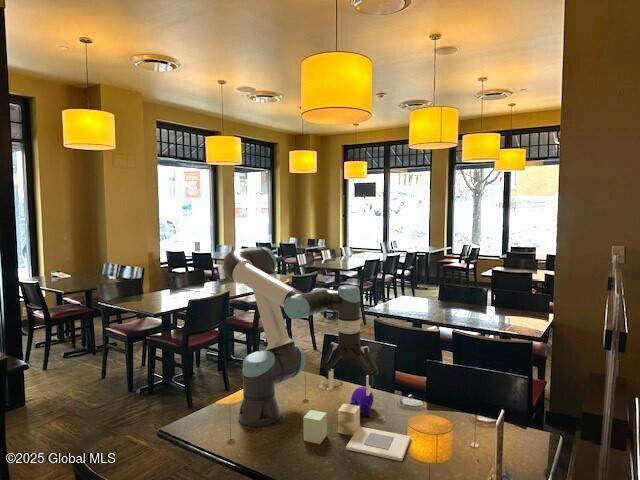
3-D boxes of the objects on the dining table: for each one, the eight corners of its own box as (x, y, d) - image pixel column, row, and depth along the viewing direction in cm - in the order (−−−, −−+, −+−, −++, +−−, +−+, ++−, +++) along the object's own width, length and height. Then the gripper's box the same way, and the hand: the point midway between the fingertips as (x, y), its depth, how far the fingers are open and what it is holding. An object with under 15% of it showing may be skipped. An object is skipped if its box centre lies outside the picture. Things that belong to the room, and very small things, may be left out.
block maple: (338, 432, 152) (337, 410, 152) (343, 425, 158) (343, 403, 157) (354, 436, 150) (354, 413, 149) (359, 428, 155) (359, 406, 155)
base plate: (346, 449, 142) (346, 445, 141) (358, 429, 154) (358, 425, 154) (401, 461, 135) (401, 457, 135) (410, 439, 148) (410, 435, 148)
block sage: (303, 440, 147) (303, 417, 147) (310, 432, 153) (310, 409, 152) (320, 444, 145) (320, 420, 144) (326, 435, 150) (326, 412, 150)
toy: (368, 426, 159) (376, 404, 173) (367, 401, 157) (375, 381, 171) (344, 422, 162) (354, 401, 176) (344, 398, 160) (353, 378, 174)
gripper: (311, 330, 152) (312, 390, 154) (382, 337, 143) (382, 401, 145) (319, 325, 159) (320, 382, 161) (387, 331, 150) (387, 392, 151)
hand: (349, 391), depth 153 cm, fingers open, 13 cm apart
